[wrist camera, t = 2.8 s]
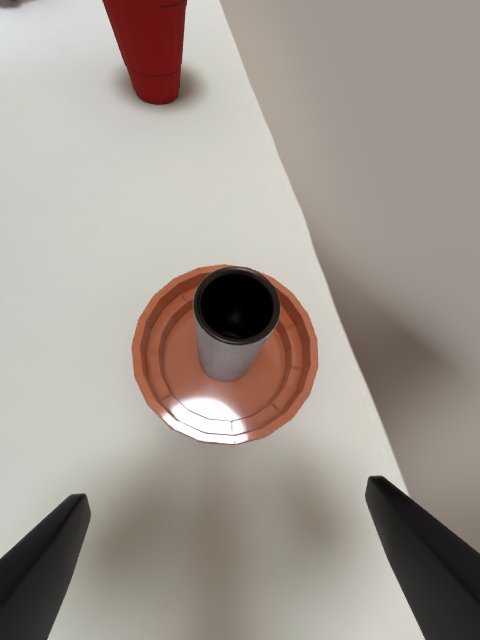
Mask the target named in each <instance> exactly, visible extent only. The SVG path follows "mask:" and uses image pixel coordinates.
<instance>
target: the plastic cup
mask: <svg viewBox="0 0 480 640" xmlns="http://www.w3.org/2000/svg"><path fill="white" fill-rule="evenodd" d="M102 1H103V3H104V6H105V9H106V12H107V15H108V18H109V20H110V23H111V26H112V29H113V32H114V35H115V38H116V40H117V43H118V46H119V49H120V52H121V55H122V58H123V61H124V63H125V65H126V67H127V70H128V72H129V75H130V78H131V81H132V84H133V87H134V89H135V90H136V93H137V95H138V96H139V97H140V98H141V99H142V100H144V101H146V102H148V103H153V104H166V103H169V102H172V101H174V100H175V99H176V98H177V96H178V93H179V88H180V72H181V63H182V52H183V38H184V24H185V10H186V5H187V0H102Z"/></svg>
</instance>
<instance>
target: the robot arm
mask: <svg viewBox="0 0 480 640" xmlns="http://www.w3.org/2000/svg"><path fill="white" fill-rule="evenodd" d="M365 498H366V503H367V505H368V508H369V511H370V514H371V516H372V519H373V522H374V524H375V527H376V530H377V532H378V535H379V538H380V540H381V543H382V546H383V548H384V551H385V553H386V556H387V559H388V561H389V563H390V565H391V567H392V570H393V572H394V574H395V576H396V578H397V580H398V582H399V585H400V587H401V589H402V591H403V593H404V595H405V597H406V599H407V602H408V604H409V606H410V608H411V610H412V612H413V614H414V616H415V619H416V621H417V623H418V625H419V627H420V629H421V631H422V633H423V636H424V638H425V640H480V554H479V553H478V552H477V551H476V550H474V549H473V548H472V547H470V546H469V545H468V544H467V543H466V542H464V541H463V540H462V539H461V538H459V537H458V536H457V535H456V534H454V533H453V532H452V531H451V530H449V529H448V528H447V527H446V526H444V525H443V524H442V523H441V522H439V521H438V520H437V519H436V518H434V517H433V516H432V515H431V514H429V513H428V512H427V511H426V510H424V509H423V508H422V507H420V506H419V505H418V504H417V503H415V502H414V501H413V500H412V499H411V498H409V497H408V496H407V495H406V494H404V493H403V492H402V491H401V490H399V489H398V488H397V487H396V486H394V485H393V484H392V483H391V482H389V481H388V480H387V479H386V478H384V477H383V476H370V477H369V478H368V482H367V487H366V493H365ZM90 517H91V511H90V507H89V503H88V499H87V496H86V494H84V493H81V494H72V495H70V496H69V497H67V498H66V499H65V500H64V501H63V502H62V503H61V504H60V505H59V506H58V507H56V508H55V509H54V510H53V511H52V512H51V513H50V514H49V515H48V516H47V517H45V518H44V519H43V520H42V521H41V522H40V523H39V524H38V525H37V526H36V527H35V528H33V529H32V530H31V531H30V532H29V533H28V534H27V535H26V536H25V537H24V538H23V539H21V540H20V541H19V542H18V543H17V544H16V545H15V546H14V547H13V548H12V549H11V550H9V551H8V552H7V553H6V554H5V555H4V556H3V557H2V558H1V559H0V640H47V639H48V636H49V634H50V631H51V629H52V626H53V624H54V621H55V619H56V617H57V614H58V612H59V609H60V607H61V604H62V602H63V599H64V597H65V595H66V592H67V589H68V587H69V584H70V581H71V578H72V575H73V572H74V569H75V566H76V563H77V560H78V557H79V554H80V550H81V547H82V544H83V541H84V538H85V535H86V531H87V528H88V525H89V522H90Z"/></svg>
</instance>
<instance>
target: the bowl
mask: <svg viewBox="0 0 480 640" xmlns="http://www.w3.org/2000/svg"><path fill="white" fill-rule="evenodd" d="M225 267H233V266H232V265H215V266H208V267H201V268H197V269H194V270H192V271H190V272H188V273H185V274H183V275H181V276H178V277H176V278H174V279H173V280H172V281H170V282H169V283H168V284H167V285H166V286H164V287H163V288H162V289H161V290H160V291H158V292H157V293H156V294H155V295H154V296H153V297H152V299H151V300H150V302H149V304H148V305H147V307H146V308H145V310H144V311H143V313H142V315H141V316H140V318H139V320H138V323H137V327H136V331H135V335H134V339H133V343H132V357H133V367H134V376H135V379H136V381H137V384H138V386H139V388H140V390H141V392H142V394H143V396H144V398H145V400H146V403H147V405H148V406H149V407H150V408H151V409H152V410H153V411H154V412H155V413H156V414H157V415H158V416H159V417H160V418H161V419H162V420H163V421H164V422H165V423H166V424H167V425H168V426H169V427H170V428H172V429H173V430H176V431H178V432H180V433H182V434H184V435H187V436H189V437H191V438H193V439H195V440H197V441H200V442H203V443H215V444H227V445H237V444H241V443H245V442H249V441H252V440H256V439H260V438H263V437H266V436H268V435H270V434H271V433H273V432H274V431H275V430H277V429H278V428H280V427H281V426H283V425H284V424H286V423H287V422H288V421H290V420H291V419H292V418H293V417H294V416H295V415H296V413H297V412H298V410H299V409H300V408H301V406H302V405H303V403H304V402H305V401H306V399H307V398H308V396H309V395H310V393H311V389H312V386H313V382H314V379H315V376H316V372H317V369H318V348H317V338H316V335H315V332H314V329H313V326H312V323H311V321H310V318H309V315H308V313H307V312H306V311H305V309H304V308H303V307H302V305H301V304H300V302H299V301H298V300H297V298H296V297H295V296H294V294H292V292H290V291H289V290H288V289H287V288H285V287H284V286H283V285H282V284H280V283H279V282H278V281H276V280H275V279H274V278H272V277H270V276H268V275H265V274H263V273H260V272H258V271H256V270H254V271H256V272H258V273H260V274H261V275H263V276H264V277H266V278H267V279H268V280H269V281H270V282H271V284H272V285H273V286H274V288H275V289H276V291H277V293H278V296H279V300H280V306H281V311H280V317H279V320H278V323H277V325H276V327H275V328H274V330H273V332H272V333H271V335H270V336H269V338H268V339H267V341H266V343H265V344H264V346H263V347H262V349H261V350H260V352H259V353H258V355H257V357H256V358H255V360H254V361H253V363H252V364H251V366H250V367H249V369H248V370H247V372H246V373H245V374H244V375H242V376H241V377H240V378H238V379H236V380H233V381H227V382H225V381H218V380H215V379H213V378H212V377H210V376H209V375H208V374H207V373H206V372H205V371H204V370H203V368H202V366H201V363H200V360H199V353H198V345H197V337H196V329H195V321H194V313H193V298H194V294H195V291H196V289H197V287H198V285H199V284H200V282H201V281H202V280H203V279H204V278H205V277H206V276H207V275H209V274H210V273H212V272H214V271H216V270H218V269H221V268H225ZM237 267H239V266H237ZM245 268H247V267H245ZM249 269H251V268H249ZM252 270H253V269H252Z"/></svg>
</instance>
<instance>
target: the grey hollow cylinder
mask: <svg viewBox="0 0 480 640" xmlns="http://www.w3.org/2000/svg"><path fill="white" fill-rule="evenodd" d="M280 311H281V306H280V300H279V296H278V293H277V291H276V289H275V288H274V286H273V285H272V284H271V282H270V281H269V280H268V279H267V278H266V277H264V276H263V275H261V274H260V273H258V272H256V271H254V270H252V269H249V268H245V267H237V266H233V267H225V268H221V269H218V270H216V271H214V272H212V273H210V274H209V275H207V276H206V277H205V278H204V279H203V280H202V281H201V282H200V284H199V285H198V287H197V289H196V291H195V294H194V298H193V313H194V321H195V329H196V337H197V345H198V353H199V360H200V363H201V366H202V368H203V370H204V371H205V372H206V373H207V374H208V375H209V376H210V377H212V378H213V379H215V380H218V381H225V382H227V381H233V380H236V379H238V378H240V377H241V376H242V375H244V374H245V373H246V372H247V370H248V369H249V367H250V366H251V364H252V363H253V361H254V360H255V358H256V357H257V355H258V353H259V352H260V350H261V349H262V347H263V346H264V344H265V343H266V341H267V339H268V338H269V336H270V335H271V333H272V332H273V330H274V328H275V327H276V325H277V323H278V320H279V317H280Z"/></svg>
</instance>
